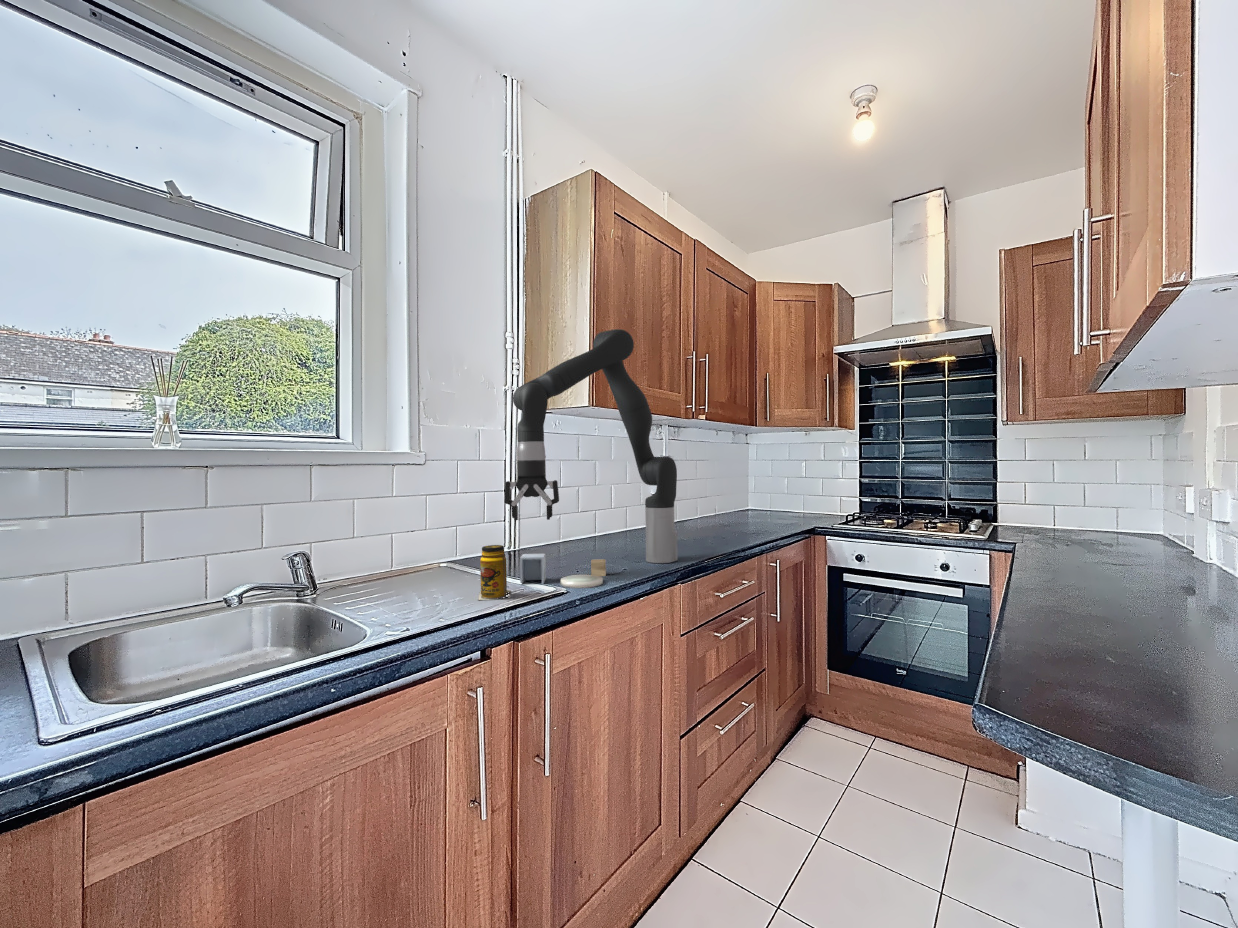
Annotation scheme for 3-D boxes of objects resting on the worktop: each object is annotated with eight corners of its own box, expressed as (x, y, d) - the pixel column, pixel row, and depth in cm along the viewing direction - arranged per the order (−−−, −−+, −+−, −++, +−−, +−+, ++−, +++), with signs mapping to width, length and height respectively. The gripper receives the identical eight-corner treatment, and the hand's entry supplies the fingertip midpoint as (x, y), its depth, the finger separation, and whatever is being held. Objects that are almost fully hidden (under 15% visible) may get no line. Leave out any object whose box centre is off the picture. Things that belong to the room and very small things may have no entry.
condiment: (478, 600, 129) (477, 548, 129) (479, 592, 137) (479, 543, 137) (510, 598, 130) (509, 547, 130) (510, 590, 138) (509, 542, 138)
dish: (589, 577, 153) (589, 572, 153) (610, 584, 144) (610, 579, 144) (553, 582, 147) (553, 577, 147) (573, 589, 138) (573, 584, 138)
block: (591, 573, 159) (591, 559, 159) (605, 573, 159) (605, 559, 159) (591, 576, 155) (591, 562, 155) (605, 576, 155) (605, 561, 155)
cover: (523, 579, 151) (523, 553, 151) (545, 579, 152) (545, 553, 152) (520, 584, 145) (520, 557, 145) (543, 583, 146) (543, 557, 146)
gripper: (501, 459, 145) (503, 522, 145) (557, 458, 145) (558, 520, 145) (506, 459, 152) (507, 519, 152) (558, 458, 153) (560, 517, 153)
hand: (532, 519), depth 149 cm, fingers open, 8 cm apart
